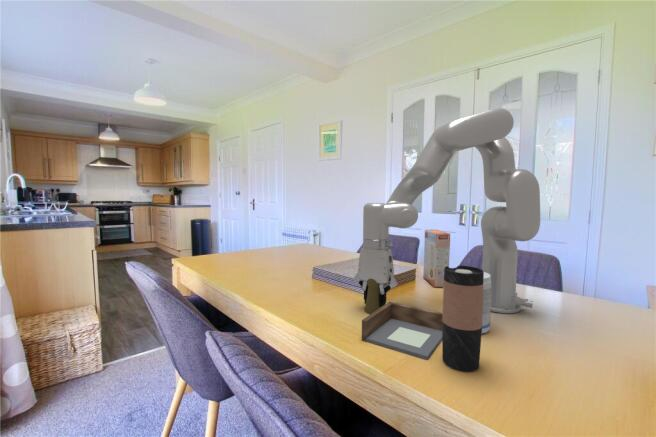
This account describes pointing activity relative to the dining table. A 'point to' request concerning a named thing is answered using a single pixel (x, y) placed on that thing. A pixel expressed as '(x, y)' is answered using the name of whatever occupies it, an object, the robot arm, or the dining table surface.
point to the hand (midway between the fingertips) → (374, 303)
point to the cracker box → (436, 256)
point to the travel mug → (462, 317)
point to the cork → (372, 296)
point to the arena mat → (407, 338)
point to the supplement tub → (486, 303)
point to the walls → (400, 317)
